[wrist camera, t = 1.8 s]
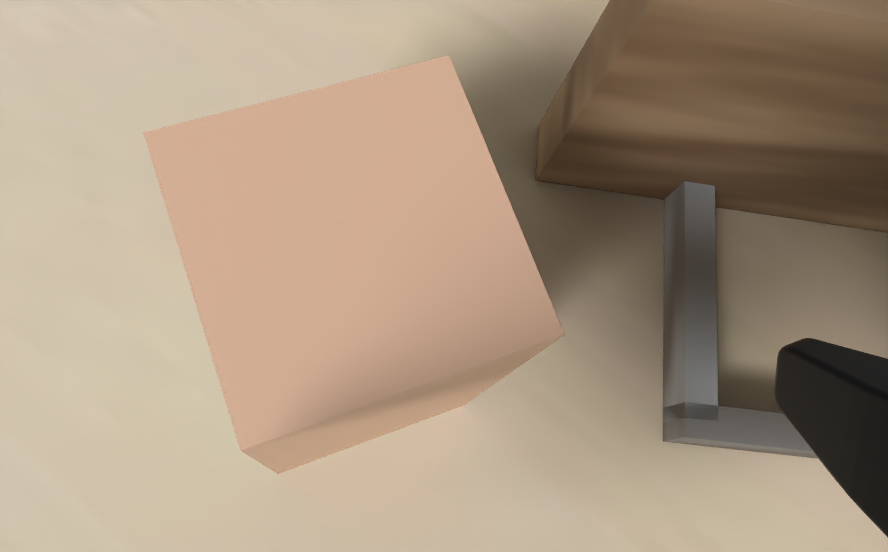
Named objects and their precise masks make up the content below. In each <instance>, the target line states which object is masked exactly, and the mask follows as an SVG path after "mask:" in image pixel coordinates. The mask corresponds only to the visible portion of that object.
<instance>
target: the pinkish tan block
mask: <svg viewBox="0 0 888 552" xmlns="http://www.w3.org/2000/svg"><path fill="white" fill-rule="evenodd" d="M144 136H145V139H146V142H147V146H148V149H149V152H150V155H151V159H152V162H153V165H154V169H155V172H156V175H157V178H158V182H159V185H160V188H161V191H162V195H163V198H164V201H165V205H166V208H167V211H168V214H169V218H170V221H171V224H172V227H173V231H174V234H175V237H176V241H177V244H178V247H179V250H180V254H181V257H182V260H183V263H184V267H185V270H186V273H187V276H188V280H189V283H190V286H191V290H192V293H193V296H194V299H195V303H196V306H197V309H198V312H199V316H200V319H201V322H202V326H203V329H204V332H205V335H206V339H207V342H208V345H209V348H210V352H211V355H212V358H213V362H214V365H215V368H216V371H217V375H218V378H219V381H220V384H221V388H222V391H223V394H224V398H225V401H226V404H227V407H228V411H229V414H230V417H231V420H232V424H233V427H234V430H235V433H236V437H237V440H238V443H239V447H240V450H241V451H242V452H244V453H245V454H247V455H249V456H250V457H252V458H253V459H255V460H257V461H258V462H260V463H261V464H263V465H265V466H266V467H268V468H269V469H271V470H273V471H274V472H276V473H277V474H279V473H281V472H284V471H287V470H290V469H292V468H295V467H298V466H300V465H303V464H306V463H309V462H311V461H314V460H317V459H319V458H322V457H325V456H327V455H330V454H333V453H336V452H338V451H341V450H344V449H346V448H349V447H352V446H354V445H357V444H360V443H363V442H365V441H368V440H371V439H373V438H376V437H379V436H382V435H384V434H387V433H390V432H392V431H395V430H398V429H400V428H403V427H406V426H409V425H411V424H414V423H417V422H419V421H422V420H425V419H428V418H430V417H433V416H436V415H438V414H441V413H444V412H446V411H449V410H452V409H455V408H457V407H460V406H463V405H465V404H466V403H467V402H469V401H470V400H472V399H473V398H475V397H476V396H477V395H479V394H480V393H482V392H483V391H485V390H486V389H487V388H489V387H490V386H492V385H493V384H495V383H496V382H497V381H499V380H500V379H502V378H503V377H505V376H506V375H507V374H509V373H510V372H512V371H513V370H515V369H516V368H517V367H519V366H520V365H522V364H523V363H525V362H526V361H527V360H529V359H530V358H532V357H533V356H535V355H536V354H537V353H539V352H540V351H542V350H543V349H545V348H546V347H547V346H549V345H550V344H552V343H553V342H555V341H556V340H557V339H559V338H560V337H562V336H563V335H565V334H564V332H563V329H562V327H561V324H560V322H559V320H558V317H557V315H556V312H555V310H554V308H553V305H552V303H551V300H550V298H549V295H548V293H547V291H546V288H545V286H544V283H543V281H542V279H541V276H540V274H539V271H538V269H537V266H536V264H535V262H534V259H533V257H532V254H531V252H530V250H529V247H528V245H527V242H526V240H525V237H524V235H523V233H522V230H521V228H520V225H519V223H518V221H517V218H516V216H515V213H514V211H513V208H512V206H511V204H510V201H509V199H508V196H507V194H506V192H505V189H504V187H503V184H502V182H501V179H500V177H499V175H498V172H497V170H496V167H495V165H494V163H493V160H492V158H491V155H490V153H489V150H488V148H487V146H486V143H485V141H484V138H483V136H482V134H481V131H480V129H479V126H478V124H477V121H476V119H475V117H474V114H473V112H472V109H471V107H470V105H469V102H468V100H467V97H466V95H465V92H464V90H463V88H462V85H461V83H460V80H459V78H458V76H457V73H456V71H455V68H454V66H453V63H452V61H451V59H450V56H449V55H448V56H444V57H440V58H437V59H433V60H429V61H425V62H421V63H417V64H413V65H409V66H405V67H401V68H397V69H393V70H389V71H385V72H381V73H377V74H373V75H369V76H365V77H361V78H357V79H354V80H350V81H346V82H342V83H338V84H334V85H330V86H326V87H322V88H318V89H314V90H310V91H306V92H302V93H298V94H294V95H290V96H286V97H282V98H278V99H275V100H271V101H267V102H263V103H259V104H255V105H251V106H247V107H243V108H239V109H235V110H231V111H227V112H223V113H219V114H215V115H211V116H207V117H203V118H199V119H196V120H192V121H188V122H184V123H180V124H176V125H172V126H168V127H164V128H160V129H156V130H152V131H148V132H144Z"/></svg>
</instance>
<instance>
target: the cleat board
mask: <svg viewBox="0 0 888 552" xmlns="http://www.w3.org/2000/svg"><path fill="white" fill-rule="evenodd" d="M536 180H538V181H544V182H551V183H558V184H565V185H571V186H578V187H585V188H592V189H598V190H605V191H612V192H619V193H625V194H632V195H639V196H646V197H652V198H659V199H664V353H663V441H665V442H674V443H683V444H692V445H701V446H711V447H720V448H729V449H738V450H747V451H756V452H765V453H774V454H783V455H792V456H801V457H811V458H818V457H817V456H816V454H815V453H814V452H813V451H812V449H811V448H810V447H809V445H808V444H807V443H806V442H805V440H804V439H803V438H802V437H801V435H800V434H799V433H798V431H797V430H796V429H795V428H794V426H793V425H792V424H791V423H790V421H789V420H788V419H787V417H786V416H785V415H784V414H783V413H776V412H768V411H759V410H751V409H742V408H734V407H725V406H718V369H717V300H716V232H715V207H720V208H727V209H733V210H740V211H747V212H753V213H760V214H767V215H774V216H780V217H787V218H794V219H801V220H807V221H814V222H821V223H828V224H834V225H841V226H848V227H855V228H861V229H868V230H875V231H882V232H888V0H610V1H609V3H608V5H607V6H606V8H605V10H604V12H603V13H602V15H601V17H600V19H599V20H598V22H597V24H596V26H595V27H594V29H593V31H592V33H591V34H590V36H589V38H588V40H587V41H586V43H585V45H584V47H583V49H582V50H581V52H580V54H579V56H578V57H577V59H576V61H575V63H574V64H573V66H572V68H571V70H570V71H569V73H568V75H567V77H566V78H565V80H564V82H563V84H562V85H561V87H560V89H559V91H558V92H557V94H556V96H555V98H554V99H553V101H552V103H551V105H550V106H549V108H548V110H547V112H546V113H545V115H544V117H543V119H542V120H541V122H540V124H539V131H538V148H537V164H536Z"/></svg>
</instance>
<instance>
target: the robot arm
mask: <svg viewBox="0 0 888 552" xmlns="http://www.w3.org/2000/svg"><path fill="white" fill-rule="evenodd" d="M774 395H775V399H776V402H777V404H778V406H779V408H780V410H781V411H782V412H783V414H784V415H785V416H786V417H787V419H788V420H789V421H790V423H791V424H792V425H793V426H794V428H795V429H796V430H797V431H798V433H799V434H800V435H801V437H802V438H803V439H804V440H805V442H806V443H807V444H808V445H809V447H810V448H811V449H812V451H813V452H814V453H815V454H816V456H817V457H818V458H819V459H820V461H821V462H822V463H823V465H824V466H825V467H826V468H827V470H828V471H829V472H830V473H831V475H832V476H833V477H834V478H835V480H836V481H837V482H838V483H839V485H840V486H841V487H842V488H843V489H844V491H845V492H846V493H847V494H848V495H849V497H850V498H851V499H852V500H853V501H854V502H855V503H856V504H857V505H858V506H859V508H860V509H861V510H862V511H863V512H864V513H865V514H866V515H867V516H868V517H869V518H870V519H871V520H872V521H873V522H874V523H875V524H876V525H877V527H878V528H879V529H880V530H881V531H882V532H883V533H884V534H885V535H886V536H887V537H888V359H886V358H882V357H879V356H875V355H871V354H868V353H864V352H860V351H857V350H853V349H849V348H845V347H842V346H838V345H834V344H831V343H827V342H823V341H820V340H816V339H812V338H805V339H801V340H799V341H796V342H794V343H791V344H788V345H786V346H784V347H782V348H781V350H780V351H779V353H778V358H777V368H776V377H775V386H774Z"/></svg>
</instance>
